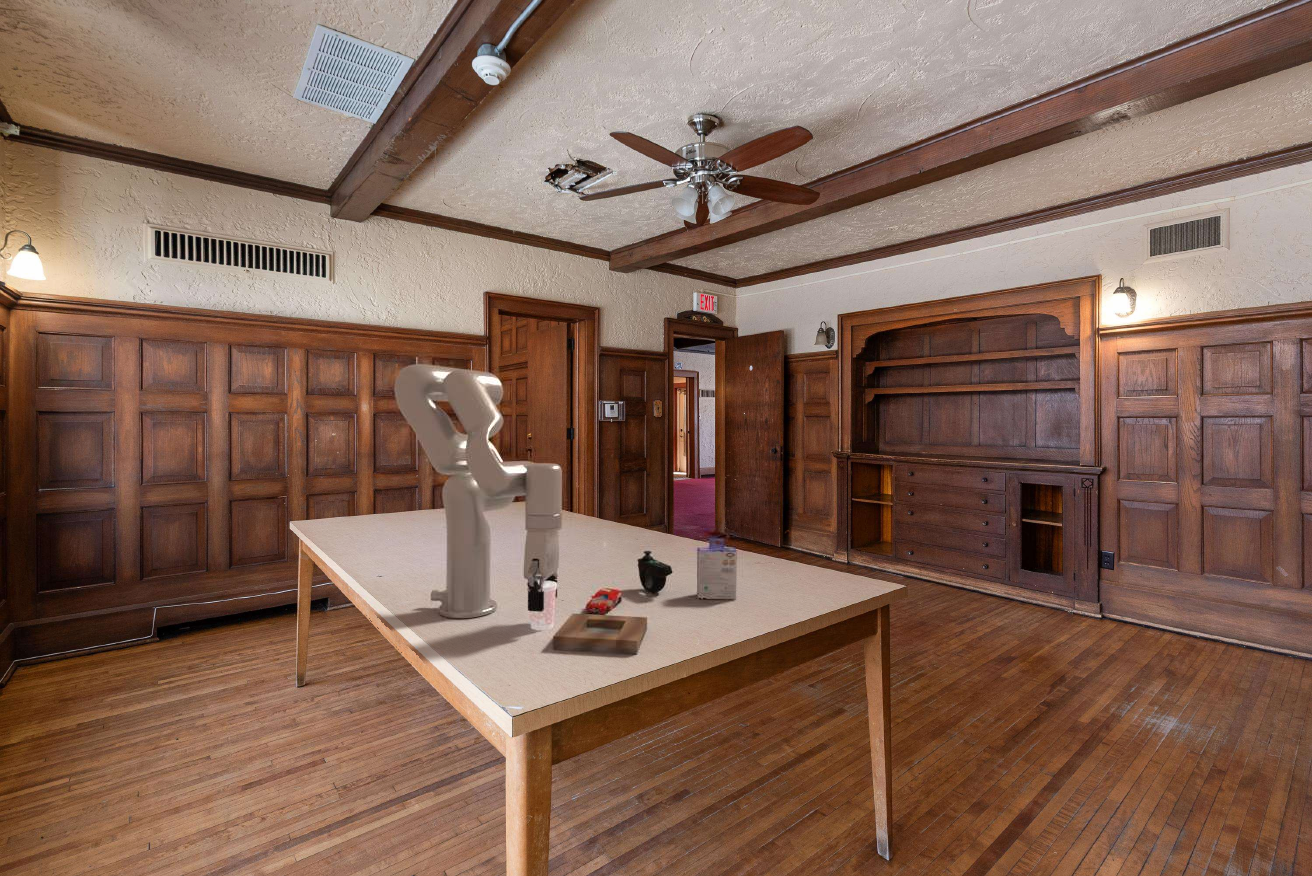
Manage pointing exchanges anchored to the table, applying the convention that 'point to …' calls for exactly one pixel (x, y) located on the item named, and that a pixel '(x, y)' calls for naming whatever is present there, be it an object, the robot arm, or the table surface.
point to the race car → (604, 601)
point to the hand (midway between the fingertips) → (543, 604)
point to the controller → (652, 573)
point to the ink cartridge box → (716, 571)
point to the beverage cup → (545, 608)
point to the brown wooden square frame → (601, 633)
